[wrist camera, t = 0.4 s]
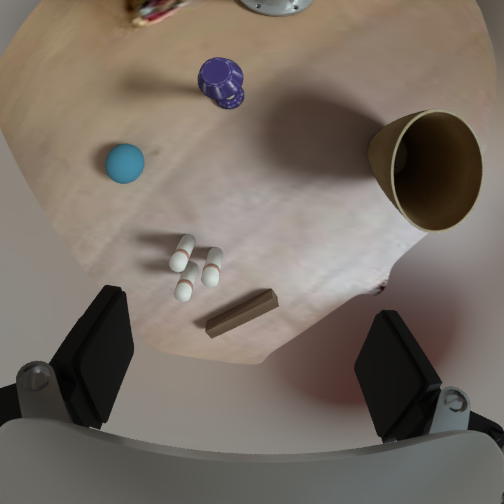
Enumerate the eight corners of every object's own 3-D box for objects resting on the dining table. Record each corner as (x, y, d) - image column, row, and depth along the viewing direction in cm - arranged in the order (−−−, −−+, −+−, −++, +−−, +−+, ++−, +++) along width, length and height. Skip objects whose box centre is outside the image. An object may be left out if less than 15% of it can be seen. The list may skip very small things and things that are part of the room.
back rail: (206, 321, 53) (205, 331, 51) (271, 288, 50) (272, 298, 48) (213, 328, 54) (211, 338, 51) (277, 296, 51) (278, 306, 48)
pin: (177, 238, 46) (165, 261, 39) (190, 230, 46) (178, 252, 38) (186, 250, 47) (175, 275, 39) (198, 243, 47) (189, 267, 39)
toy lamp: (206, 98, 37) (181, 81, 22) (223, 73, 36) (210, 41, 21) (233, 114, 38) (225, 106, 23) (251, 89, 37) (254, 65, 22)
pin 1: (181, 265, 48) (170, 292, 41) (193, 258, 48) (183, 284, 40) (190, 276, 49) (180, 304, 42) (201, 270, 49) (193, 297, 41)
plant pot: (339, 110, 38) (387, 104, 24) (420, 112, 37) (483, 115, 23) (347, 202, 44) (390, 240, 30) (422, 196, 44) (479, 227, 29)
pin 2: (205, 251, 47) (197, 277, 40) (217, 244, 47) (211, 268, 39) (213, 263, 48) (207, 290, 41) (226, 256, 48) (222, 282, 40)
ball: (109, 157, 40) (91, 163, 35) (136, 134, 39) (120, 136, 34) (128, 186, 42) (113, 195, 37) (156, 165, 41) (143, 171, 36)
